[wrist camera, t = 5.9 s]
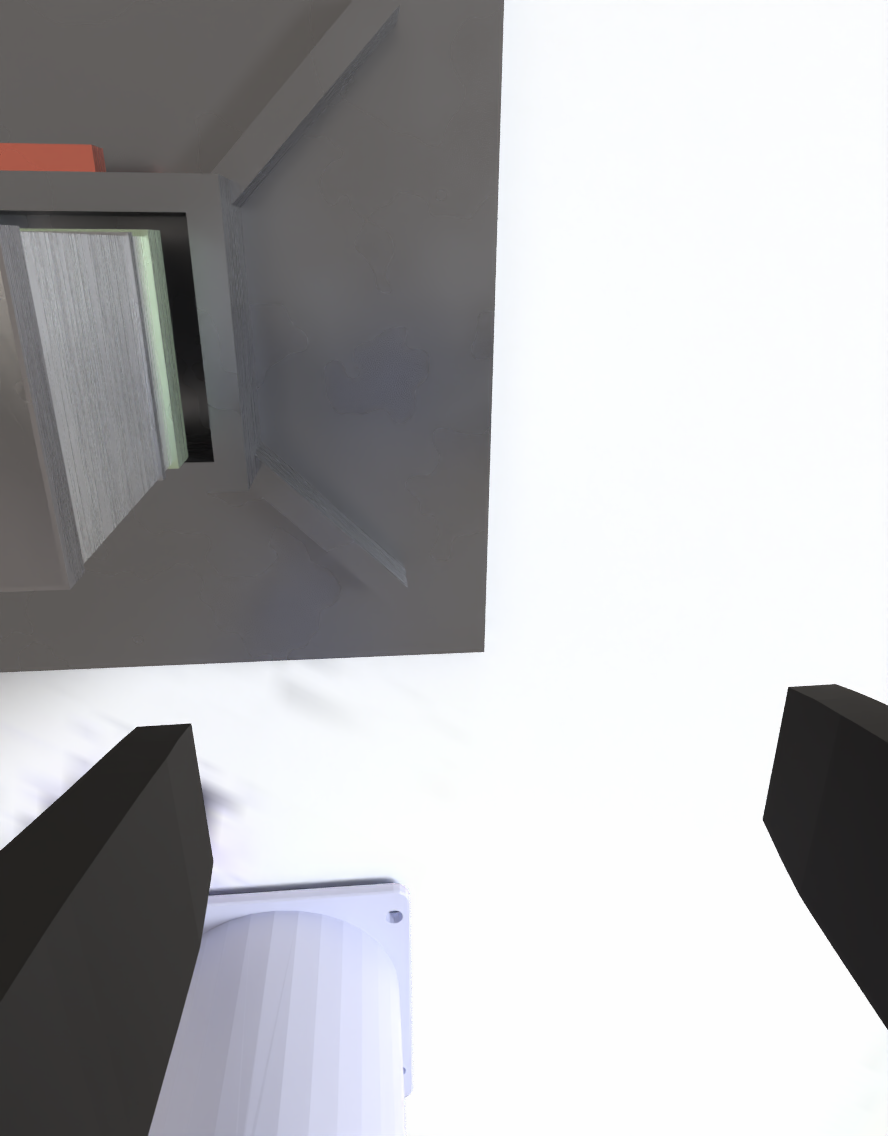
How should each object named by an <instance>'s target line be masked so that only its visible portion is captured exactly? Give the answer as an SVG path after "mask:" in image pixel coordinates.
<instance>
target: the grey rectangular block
mask: <svg viewBox="0 0 888 1136" xmlns="http://www.w3.org/2000/svg"><path fill="white" fill-rule="evenodd" d="M187 458H188V449H187V441H186V433H185V425H184V417H183V409H182V401H181V394H180V386H179V378H178V370H177V362H176V354H175V346H174V338H173V330H172V322H171V314H170V306H169V298H168V291H167V283H166V275H165V267H164V259H163V251H162V243H161V235H160V230H140V229H24V228H19V226H12V225H0V592H16V591H46V590H70V589H71V588H72V587H73V586H74V585H75V583H76V582H77V581H78V580H79V579H80V578H81V576H82V575H83V574H84V573H85V568H84V563H85V562H86V561H87V560H88V559H89V557H90V556H91V555H92V554H93V553H94V552H95V551H96V549H97V548H98V547H99V546H100V545H101V544H102V543H103V541H104V540H105V539H106V538H107V537H108V536H109V535H110V533H111V532H112V531H113V530H114V529H115V528H116V527H117V526H118V524H119V523H120V522H121V521H122V520H123V519H124V518H125V516H126V515H127V514H128V513H129V512H130V511H131V510H132V508H133V507H134V506H135V505H136V504H137V503H138V502H139V500H140V499H141V498H142V497H143V496H144V495H145V494H146V492H147V491H148V490H149V489H150V488H151V487H152V486H153V484H154V483H155V482H156V481H163V480H164V479H165V478H166V474H165V471H166V470H167V469H179V468H180V467H181V465H182V464H183V463H184V462H185V461H186V459H187Z"/></svg>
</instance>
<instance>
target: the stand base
mask: <svg viewBox="0 0 888 1136" xmlns="http://www.w3.org/2000/svg"><path fill="white" fill-rule="evenodd" d="M503 15H504V0H0V225H12V226H19V228H24V229H140V230H160V235H161V243H162V251H163V259H164V267H165V275H166V283H167V291H168V298H169V306H170V314H171V322H172V330H173V338H174V346H175V354H176V362H177V370H178V378H179V386H180V394H181V401H182V409H183V417H184V425H185V433H186V441H187V449H188V458H187V459H186V461H185V462H184V463H183V464H182V465H181V467H180V468H179V469H167V470H166V471H165V474H166V478H165V479H164V480H163V481H156V482H155V483H154V484H153V486H152V487H151V488H150V489H149V490H148V491H147V492H146V494H145V495H144V496H143V497H142V498H141V499H140V500H139V502H138V503H137V504H136V505H135V506H134V507H133V508H132V510H131V511H130V512H129V513H128V514H127V515H126V516H125V518H124V519H123V520H122V521H121V522H120V523H119V524H118V526H117V527H116V528H115V529H114V530H113V531H112V532H111V533H110V535H109V536H108V537H107V538H106V539H105V540H104V541H103V543H102V544H101V545H100V546H99V547H98V548H97V549H96V551H95V552H94V553H93V554H92V555H91V556H90V557H89V559H88V560H87V561H86V562H85V563H84V568H85V573H84V574H83V575H82V576H81V578H80V579H79V580H78V581H77V582H76V583H75V585H74V586H73V587H72V588H71V589H70V590H46V591H16V592H0V672H20V671H44V670H67V669H91V668H115V667H138V666H162V665H185V664H209V663H233V662H256V661H280V660H303V659H327V658H350V657H374V656H398V655H421V654H445V653H468V652H484V639H485V606H486V573H487V540H488V507H489V474H490V442H491V409H492V376H493V343H494V310H495V278H496V245H497V212H498V179H499V146H500V114H501V81H502V48H503Z"/></svg>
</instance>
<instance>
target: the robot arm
mask: <svg viewBox="0 0 888 1136" xmlns="http://www.w3.org/2000/svg"><path fill="white" fill-rule="evenodd" d="M763 821H764V823H765V826H766V828H767V830H768V832H769V834H770V836H771V838H772V841H773V843H774V845H775V847H776V849H777V851H778V853H779V856H780V858H781V860H782V862H783V864H784V866H785V868H786V870H787V872H788V874H789V876H790V878H791V879H792V881H793V883H794V885H795V887H796V889H797V891H798V893H799V895H800V897H801V898H802V900H803V901H804V903H805V905H806V906H807V908H808V909H809V911H810V913H811V914H812V916H813V917H814V919H815V920H816V922H817V923H818V925H819V926H820V928H821V930H822V931H823V933H824V934H825V936H826V937H827V939H828V940H829V942H830V943H831V945H832V946H833V948H834V949H835V951H836V953H837V954H838V956H839V957H840V959H841V960H842V962H843V963H844V965H845V966H846V968H847V969H848V971H849V972H850V974H851V975H852V977H853V978H854V980H855V981H856V983H857V984H858V986H859V987H860V989H861V990H862V992H863V993H864V995H865V996H866V998H867V999H868V1001H869V1002H870V1004H871V1005H872V1007H873V1008H874V1010H875V1011H876V1013H877V1014H878V1016H879V1017H880V1019H881V1020H882V1022H883V1023H884V1025H885V1026H886V1028H887V1029H888V705H886V704H883V703H881V702H879V701H877V700H874V699H872V698H870V697H867V696H865V695H863V694H860V693H858V692H855V691H853V690H850V689H847V688H844V687H842V686H839V685H836V684H832V685H815V686H799V687H788V692H787V697H786V702H785V707H784V712H783V718H782V723H781V728H780V733H779V738H778V743H777V749H776V754H775V759H774V764H773V769H772V774H771V779H770V785H769V790H768V795H767V800H766V805H765V810H764V815H763ZM212 868H213V856H212V850H211V844H210V838H209V831H208V825H207V819H206V813H205V806H204V800H203V794H202V788H201V782H200V775H199V769H198V763H197V757H196V750H195V744H194V738H193V732H192V726H191V724H176V725H160V726H143V727H136V728H135V729H134V730H133V731H132V732H130V733H129V734H128V735H127V736H126V737H125V738H123V739H122V740H121V741H120V742H119V743H118V744H117V745H116V746H115V747H114V748H112V749H111V750H110V751H109V752H108V753H107V754H106V755H105V756H104V757H103V758H102V759H101V760H99V761H98V762H97V763H96V764H95V765H94V766H93V767H92V768H91V769H90V770H89V771H88V772H87V773H86V774H84V775H83V776H82V777H81V778H80V779H79V780H78V781H77V782H76V783H75V784H74V785H73V786H72V787H70V788H69V789H68V790H67V791H66V792H65V793H64V794H63V795H62V796H61V797H60V798H58V799H57V800H56V801H55V802H54V803H53V804H52V805H51V806H50V807H49V808H47V809H46V810H45V811H44V812H43V813H42V814H41V815H40V816H39V817H37V818H36V819H35V820H34V821H33V822H32V823H31V824H30V825H29V826H27V827H26V828H25V829H24V830H23V831H22V832H21V833H20V834H19V835H17V836H16V837H15V838H14V839H13V840H12V841H11V842H10V843H9V844H7V845H6V846H5V847H4V848H3V849H2V850H1V851H0V1136H406V1118H405V1097H407V1096H408V1095H409V1094H410V1093H411V1092H412V1090H413V1047H412V977H411V906H410V893H409V890H408V889H407V888H406V887H405V886H404V885H402V884H399V883H386V884H372V885H358V886H343V887H329V888H315V889H300V890H286V891H272V892H257V893H243V894H229V895H214V896H208V895H209V888H210V881H211V875H212ZM394 910H395V911H399V912H396V913H389V912H390V911H394Z"/></svg>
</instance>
